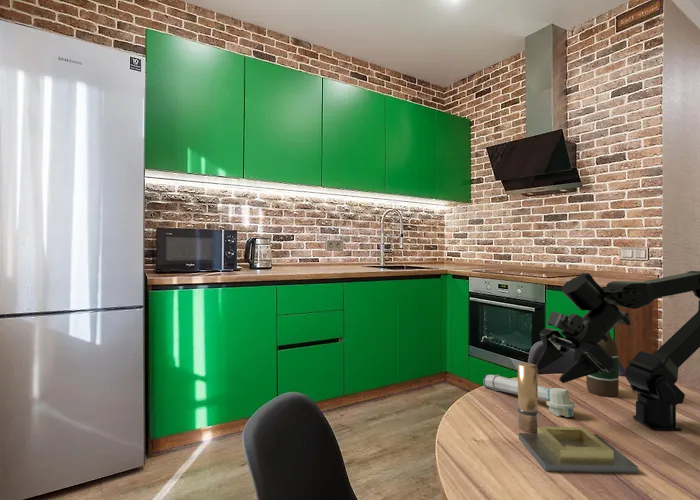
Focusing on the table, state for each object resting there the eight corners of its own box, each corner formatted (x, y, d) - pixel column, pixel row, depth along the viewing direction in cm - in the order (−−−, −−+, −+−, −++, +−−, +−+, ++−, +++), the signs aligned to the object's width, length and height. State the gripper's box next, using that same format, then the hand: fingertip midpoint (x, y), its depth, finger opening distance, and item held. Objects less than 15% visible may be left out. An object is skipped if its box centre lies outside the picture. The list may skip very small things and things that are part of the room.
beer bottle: (590, 385, 112) (589, 304, 112) (622, 392, 107) (621, 306, 107) (582, 392, 107) (581, 306, 107) (614, 399, 101) (614, 309, 101)
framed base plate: (596, 440, 80) (596, 424, 80) (637, 473, 68) (637, 455, 68) (518, 438, 80) (518, 423, 80) (545, 471, 68) (545, 453, 68)
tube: (533, 424, 87) (532, 362, 87) (541, 432, 83) (541, 368, 83) (515, 423, 87) (514, 362, 87) (522, 432, 83) (521, 368, 83)
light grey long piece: (492, 372, 113) (576, 385, 92) (495, 395, 113) (580, 414, 91) (480, 374, 111) (563, 389, 89) (483, 398, 110) (568, 419, 88)
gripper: (547, 295, 95) (504, 340, 94) (600, 305, 77) (547, 361, 76) (577, 326, 96) (534, 371, 95) (638, 344, 77) (585, 400, 76)
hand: (548, 374), depth 85 cm, fingers open, 9 cm apart
